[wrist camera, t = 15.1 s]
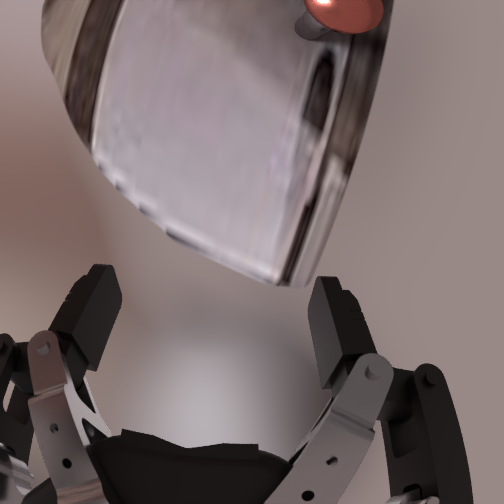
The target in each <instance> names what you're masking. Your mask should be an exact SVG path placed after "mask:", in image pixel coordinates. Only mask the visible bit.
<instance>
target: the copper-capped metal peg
mask: <svg viewBox="0 0 504 504" xmlns="http://www.w3.org/2000/svg"><path fill="white" fill-rule="evenodd" d="M303 1H304V4H305V7H306V11H305V12H304V13H303V15H302V16H301V17H300V18H299V19H298V20H297V22H296V23H295V31H296V33H297V34H298V35H299V36H300V37H302V38H304V39H307V40H313V39H316V38H318V37H320V36H321V35H323V34H325V33H326V32H328V31H330V30H332V31H335V32H338V33H342V34H359V33H362V32H365V31H368V30H371V29H373V28H374V27H376V26H377V25H378V24H379V22H380V21H381V19H382V16H383V3H382V0H303Z"/></svg>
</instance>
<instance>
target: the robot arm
mask: <svg viewBox="0 0 504 504" xmlns="http://www.w3.org/2000/svg"><path fill="white" fill-rule="evenodd" d="M121 303H122V293H121V290H120V287H119V284H118V281H117V278H116V274H115V271H114V268H113V266H112V265H105V264H94V265H93V266H92V268H91V269H90V271H89V272H88V274H87V275H84V276H82V277H81V278H80V279H79V280H78V281H77V282H75V284H74V285H73V287H72V288H71V290H70V292H69V294H68V295H67V297H66V298H65V302H63V304H62V305H61V307H60V309H59V311H58V312H57V314H56V316H55V318H54V320H53V322H52V324H51V325H50V327H49V329H48V330H43V331H40V332H38V333H36V334H35V335H34V336H33V337H32V338H31V339H30V341H29V342H21V343H15V341H14V340H13V339H12V337H11V336H10V335H8V334H6V333H3V334H0V504H337V502H338V500H339V499H340V497H341V496H342V494H343V493H344V491H345V489H346V488H347V486H348V485H349V483H350V482H351V480H352V478H353V476H354V475H355V473H356V471H357V470H358V468H359V466H360V464H361V462H362V460H363V459H364V457H365V455H366V453H367V451H368V449H369V447H370V445H371V443H372V441H373V438H374V435H375V431H374V430H373V426H374V424H375V421H376V420H380V421H381V426H382V432H383V439H384V445H385V451H386V458H387V466H388V475H389V484H390V495H391V498H390V499H389V500H388V501H387V502H386V503H385V504H473V494H472V486H471V479H470V472H469V466H468V461H467V456H466V451H465V446H464V442H463V437H462V433H461V429H460V426H459V422H458V418H457V415H456V411H455V408H454V404H453V401H452V398H451V395H450V392H449V389H448V386H447V383H446V380H445V378H444V375H443V373H442V371H441V370H440V369H439V368H438V367H436V366H434V365H432V364H428V363H427V364H422V365H420V366H419V367H418V368H417V369H416V370H415V371H409V370H403V369H397V368H394V367H392V365H391V364H390V362H389V361H388V360H387V359H386V358H384V357H383V356H381V355H379V354H378V353H377V351H376V348H375V345H374V343H373V340H372V337H371V334H370V332H369V329H368V326H367V323H366V321H365V320H364V319H365V318H364V315H363V313H362V312H361V308H360V305H359V303H358V300H357V299H356V298H355V296H354V295H353V294H352V293H351V292H350V291H349V290H342V287H341V285H340V282H339V280H338V278H337V277H328V276H327V277H326V276H318V277H317V278H316V281H315V284H314V288H313V292H312V295H311V299H310V302H309V306H308V320H309V325H310V330H311V335H312V340H313V345H314V350H315V355H316V360H317V366H318V371H319V376H320V382H321V387H322V389H330V388H331V390H332V395H333V396H332V397H331V399H330V400H329V402H328V404H327V405H326V407H325V409H324V410H323V412H322V413H321V415H320V416H319V418H318V420H317V421H316V423H315V424H314V426H313V427H312V429H311V430H310V432H309V433H308V434H307V436H306V437H305V438H304V440H303V441H302V442H301V444H300V445H299V446H298V447H297V449H296V450H295V452H294V453H293V454H292V455H291V457H290V458H289V459H288V461H286V460H284V459H282V458H281V457H279V456H276V455H274V454H272V453H268V452H266V451H262V450H258V444H228V443H222V444H216V445H210V446H202V447H196V448H184V447H181V446H178V445H176V444H173V443H170V442H168V441H165V440H163V439H161V438H158V437H156V436H154V435H149V434H144V433H139V432H135V431H130V430H125V429H122V432H121V435H118V436H113V435H112V433H111V431H110V430H109V428H108V426H107V425H106V423H105V422H104V421H103V419H102V417H101V415H100V413H99V411H98V408H97V406H96V403H95V401H94V398H93V396H92V393H91V390H90V388H89V385H88V382H87V380H86V377H85V376H84V375H85V372H86V370H91V371H97V368H98V366H99V362H100V360H101V357H102V354H103V351H104V349H105V346H106V343H107V341H108V338H109V335H110V333H111V330H112V328H113V325H114V323H115V320H116V318H117V315H118V313H119V310H120V308H121ZM10 380H11V381H12V382H13V383H14V384H15V386H14V390H13V392H12V396H11V399H10V402H9V405H8V409H7V412H5V410H4V408H3V399H4V396H5V393H6V390H7V387H8V384H9V381H10ZM34 430H35V434H36V438H37V441H38V444H39V447H40V450H41V453H42V456H43V459H44V462H45V465H46V467H47V470H48V472H49V475H50V477H49V478H48V479H47V480H45V481H44V482H43V483H41V484H40V485H38V486H37V487H36V488H34V489H32V486H31V485H33V484H34V483H35V478H34V476H33V474H32V473H30V472H29V469H28V460H29V454H30V449H31V443H32V438H33V433H34Z"/></svg>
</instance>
